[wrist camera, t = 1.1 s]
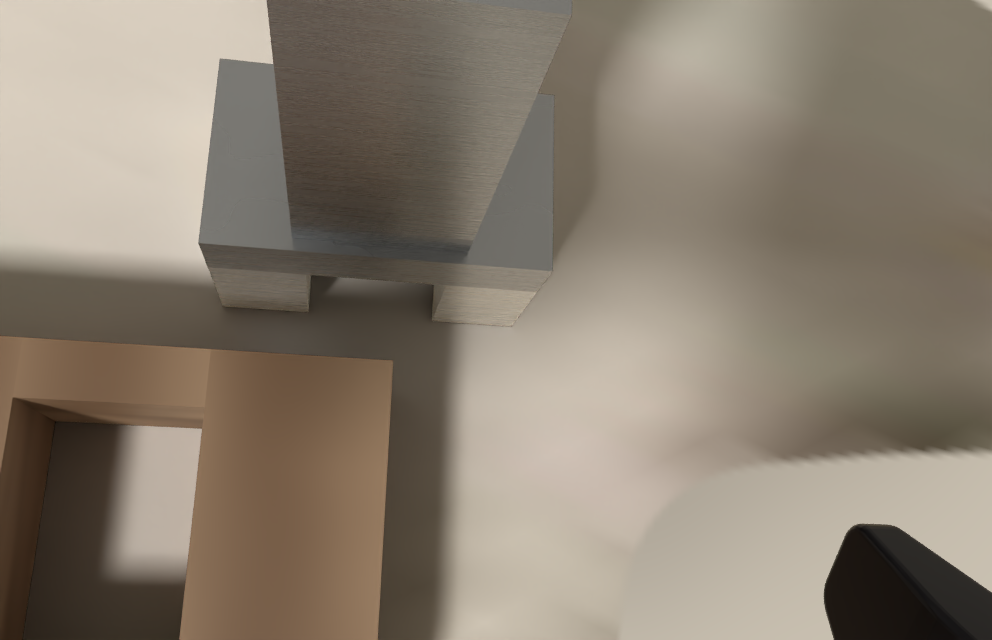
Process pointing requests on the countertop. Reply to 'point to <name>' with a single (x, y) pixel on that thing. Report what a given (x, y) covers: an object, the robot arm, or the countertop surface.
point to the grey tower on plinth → (388, 154)
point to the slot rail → (221, 476)
